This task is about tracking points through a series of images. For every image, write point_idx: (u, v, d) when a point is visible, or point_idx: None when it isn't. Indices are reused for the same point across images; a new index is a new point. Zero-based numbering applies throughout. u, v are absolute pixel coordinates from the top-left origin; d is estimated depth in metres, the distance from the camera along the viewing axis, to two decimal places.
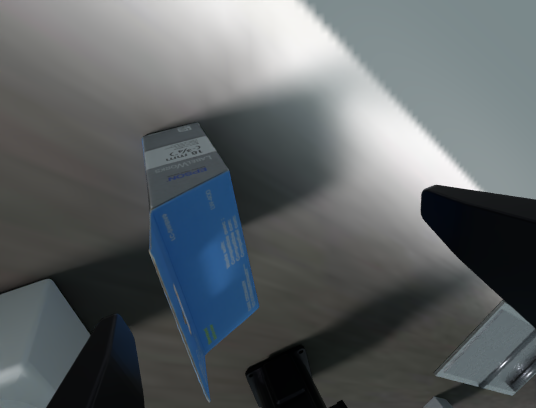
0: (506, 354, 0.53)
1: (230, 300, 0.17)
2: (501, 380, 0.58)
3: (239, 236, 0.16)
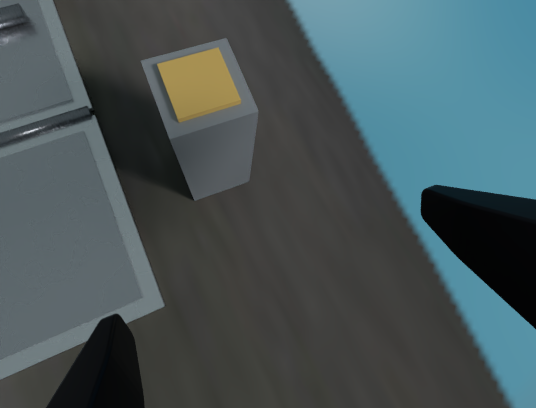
0: None
1: None
2: (37, 72, 0.24)
3: None
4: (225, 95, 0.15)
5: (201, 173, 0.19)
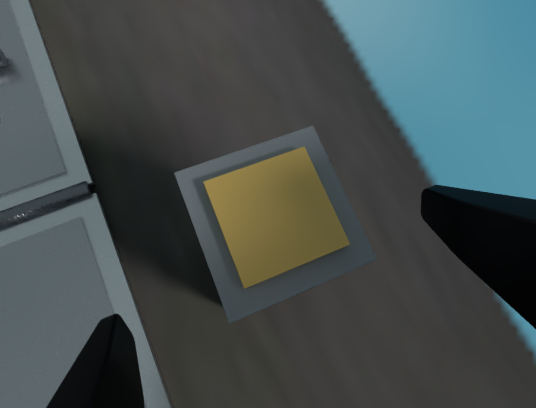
0: None
1: None
2: (18, 134, 0.18)
3: None
4: (322, 237, 0.08)
5: None
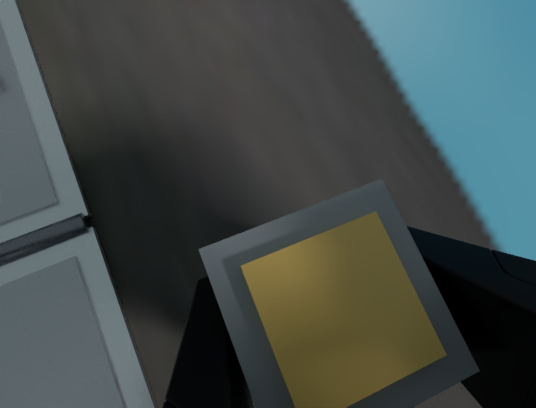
0: None
1: None
2: (2, 158, 0.15)
3: None
4: (409, 346, 0.06)
5: None
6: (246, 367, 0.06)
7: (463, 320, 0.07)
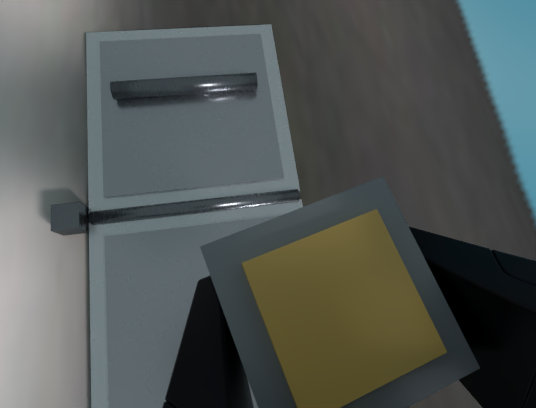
0: (197, 237, 0.22)
1: None
2: (256, 142, 0.24)
3: None
4: (410, 343, 0.06)
5: None
6: (247, 364, 0.06)
7: (463, 320, 0.07)
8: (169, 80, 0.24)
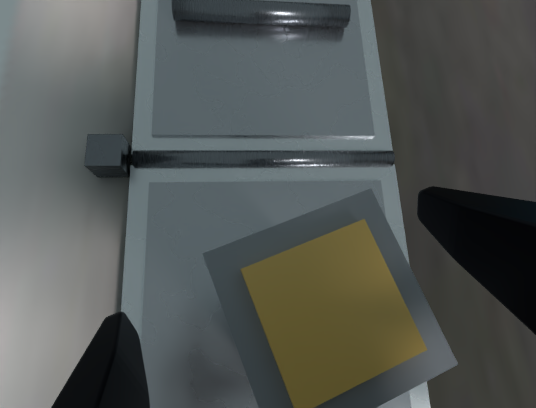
0: (264, 196, 0.17)
1: None
2: (342, 89, 0.20)
3: None
4: (393, 341, 0.07)
5: None
6: (246, 360, 0.07)
7: None
8: (244, 1, 0.19)
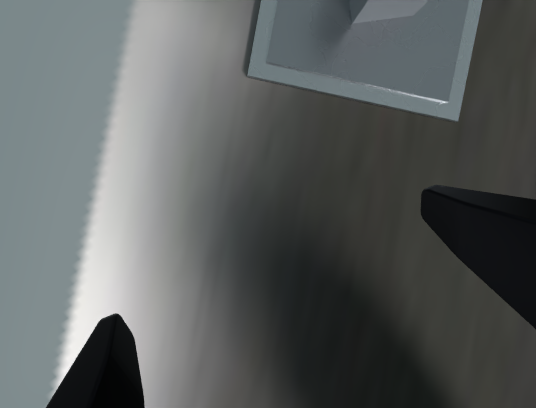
0: None
1: None
2: None
3: None
4: None
5: None
6: None
7: None
8: None
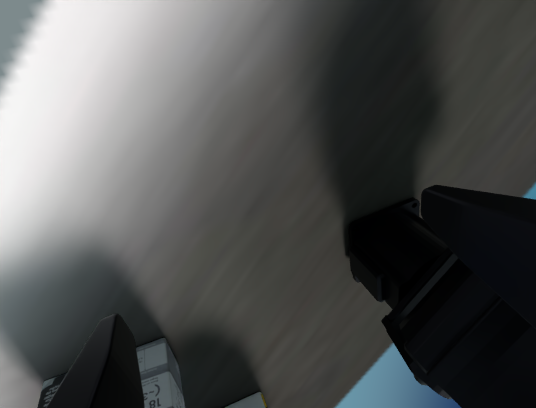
0: None
1: None
2: None
3: None
4: None
5: None
6: None
7: None
8: None
